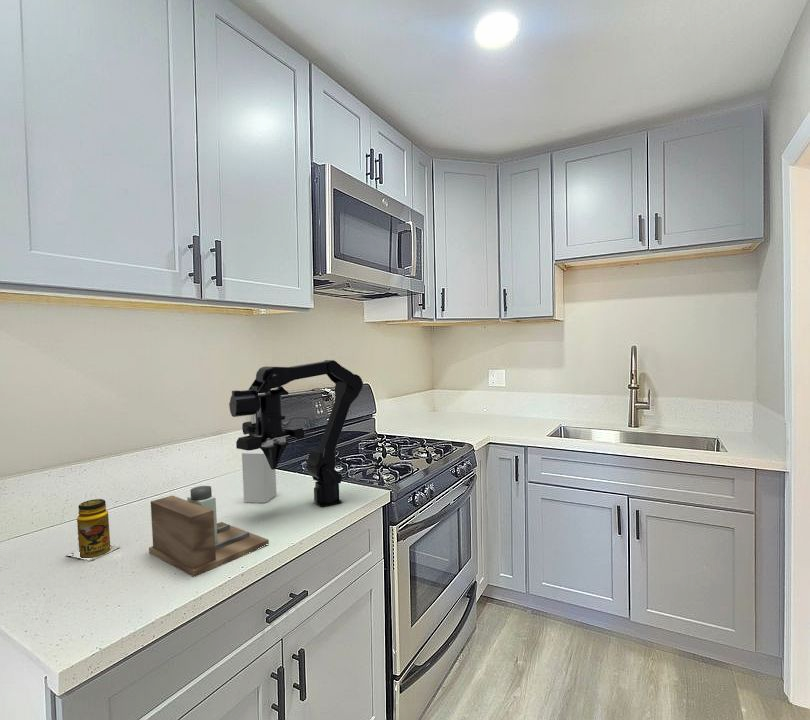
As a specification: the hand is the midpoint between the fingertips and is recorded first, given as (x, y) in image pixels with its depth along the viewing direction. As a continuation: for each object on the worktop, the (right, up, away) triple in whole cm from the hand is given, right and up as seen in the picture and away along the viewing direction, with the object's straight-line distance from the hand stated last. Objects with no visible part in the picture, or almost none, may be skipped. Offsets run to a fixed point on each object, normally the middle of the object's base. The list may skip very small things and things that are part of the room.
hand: (273, 469), depth 129 cm
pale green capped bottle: (-10, -13, -20) cm, 26 cm away
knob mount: (-10, -14, -19) cm, 26 cm away
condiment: (-37, -15, -19) cm, 44 cm away
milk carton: (-8, -13, +15) cm, 22 cm away
